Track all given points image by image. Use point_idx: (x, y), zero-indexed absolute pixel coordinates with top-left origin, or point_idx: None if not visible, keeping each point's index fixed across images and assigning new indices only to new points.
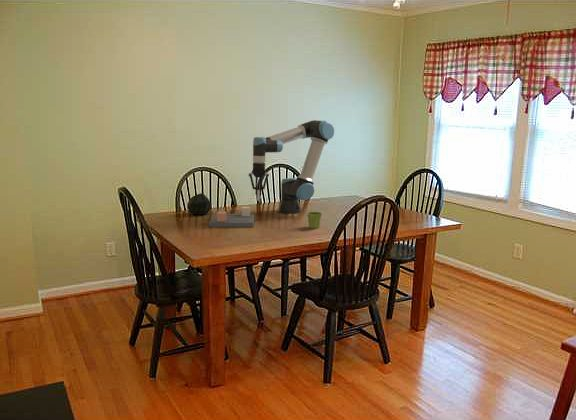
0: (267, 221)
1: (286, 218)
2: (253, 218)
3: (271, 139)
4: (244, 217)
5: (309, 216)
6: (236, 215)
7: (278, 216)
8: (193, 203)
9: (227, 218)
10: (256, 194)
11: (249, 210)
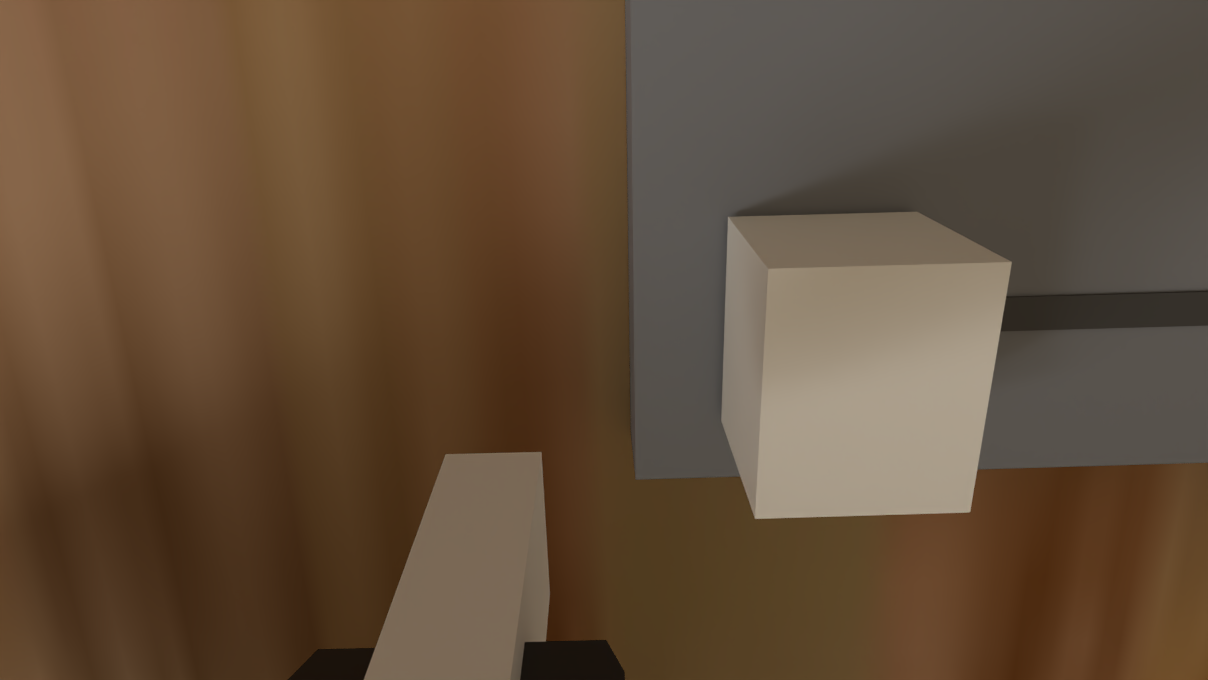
0: (348, 218)
1: (24, 485)
2: (639, 23)
3: None
4: (856, 130)
5: None
6: (1024, 318)
7: (203, 619)
8: None
9: None
10: (563, 665)
11: (768, 251)
